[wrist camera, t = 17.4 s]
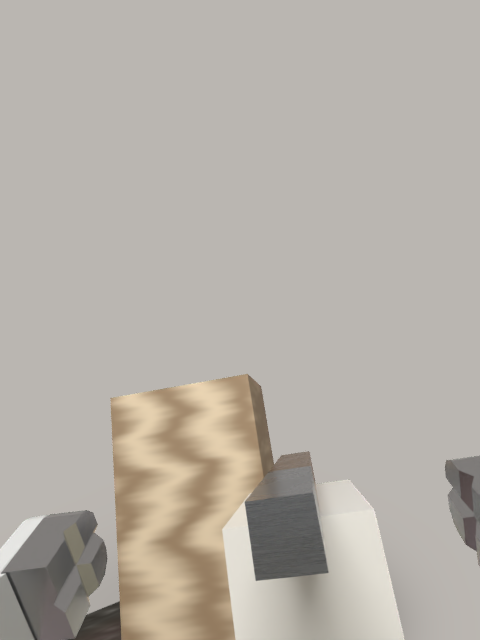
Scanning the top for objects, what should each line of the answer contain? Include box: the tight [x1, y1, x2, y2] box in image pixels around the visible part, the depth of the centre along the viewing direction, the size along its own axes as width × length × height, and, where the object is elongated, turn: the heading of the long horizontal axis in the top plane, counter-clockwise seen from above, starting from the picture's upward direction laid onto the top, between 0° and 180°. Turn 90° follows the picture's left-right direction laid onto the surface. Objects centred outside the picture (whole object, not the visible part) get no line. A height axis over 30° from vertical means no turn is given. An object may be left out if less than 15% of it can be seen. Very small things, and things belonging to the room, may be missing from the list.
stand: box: [111, 374, 274, 640], centre depth 38 cm, size 14×12×26 cm
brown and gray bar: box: [245, 452, 329, 581], centre depth 22 cm, size 2×20×2 cm, turn 170°
